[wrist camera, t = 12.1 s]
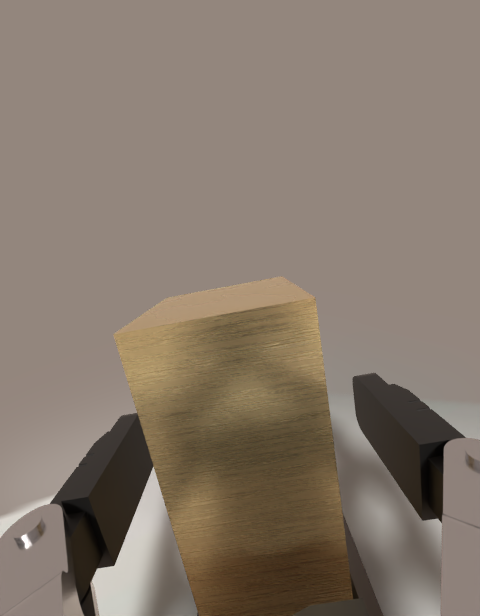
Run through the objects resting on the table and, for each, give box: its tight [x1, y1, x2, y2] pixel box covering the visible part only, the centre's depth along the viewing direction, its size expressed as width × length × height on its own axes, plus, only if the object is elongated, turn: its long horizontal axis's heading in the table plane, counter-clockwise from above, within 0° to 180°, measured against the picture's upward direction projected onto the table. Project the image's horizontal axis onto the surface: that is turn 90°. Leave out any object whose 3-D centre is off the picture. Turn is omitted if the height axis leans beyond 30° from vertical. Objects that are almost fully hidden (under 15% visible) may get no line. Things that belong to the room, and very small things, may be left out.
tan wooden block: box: [114, 276, 353, 616], centre depth 9 cm, size 4×4×14 cm
